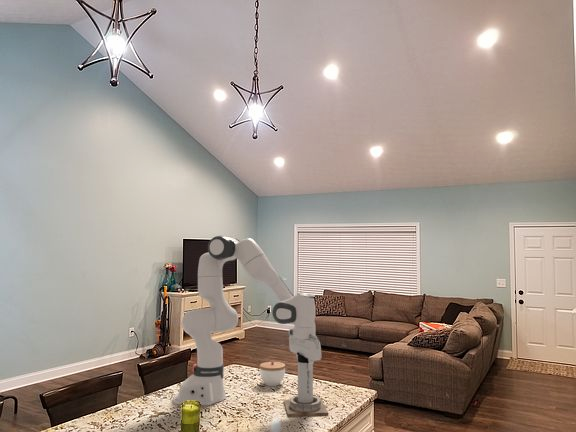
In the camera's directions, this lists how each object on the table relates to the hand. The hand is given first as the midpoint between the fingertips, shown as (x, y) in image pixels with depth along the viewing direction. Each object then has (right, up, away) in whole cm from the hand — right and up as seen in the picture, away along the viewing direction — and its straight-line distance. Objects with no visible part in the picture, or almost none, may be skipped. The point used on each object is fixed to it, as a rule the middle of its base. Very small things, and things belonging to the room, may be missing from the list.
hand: (304, 367), depth 176 cm
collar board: (0, -17, -2) cm, 17 cm away
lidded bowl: (-15, -20, +32) cm, 40 cm away
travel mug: (0, -14, -1) cm, 15 cm away
